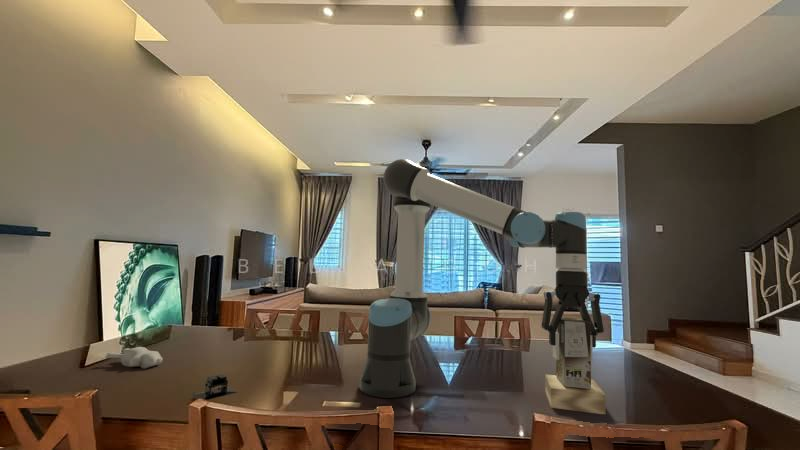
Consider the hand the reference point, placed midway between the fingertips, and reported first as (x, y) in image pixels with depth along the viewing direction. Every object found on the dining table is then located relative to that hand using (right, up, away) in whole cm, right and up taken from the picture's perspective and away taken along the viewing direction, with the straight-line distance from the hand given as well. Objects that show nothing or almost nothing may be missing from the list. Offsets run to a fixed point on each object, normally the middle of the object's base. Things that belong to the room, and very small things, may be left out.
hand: (572, 359), depth 95 cm
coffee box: (0, -6, -1) cm, 6 cm away
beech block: (0, -11, -1) cm, 11 cm away
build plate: (-91, -8, -4) cm, 91 cm away
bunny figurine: (-126, -9, +18) cm, 127 cm away
